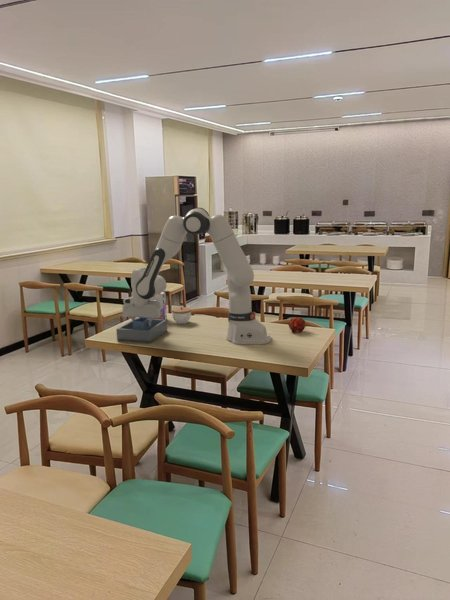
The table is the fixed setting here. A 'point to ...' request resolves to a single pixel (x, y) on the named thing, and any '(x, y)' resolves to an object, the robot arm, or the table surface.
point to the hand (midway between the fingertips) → (142, 325)
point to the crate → (141, 332)
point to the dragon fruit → (297, 324)
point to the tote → (141, 324)
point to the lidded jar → (181, 315)
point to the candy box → (161, 304)
